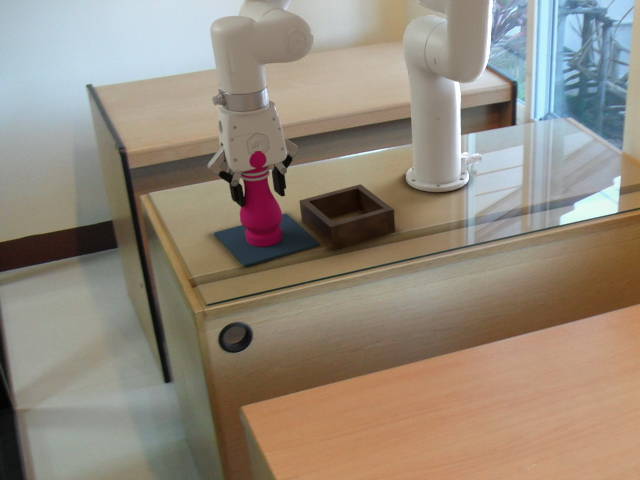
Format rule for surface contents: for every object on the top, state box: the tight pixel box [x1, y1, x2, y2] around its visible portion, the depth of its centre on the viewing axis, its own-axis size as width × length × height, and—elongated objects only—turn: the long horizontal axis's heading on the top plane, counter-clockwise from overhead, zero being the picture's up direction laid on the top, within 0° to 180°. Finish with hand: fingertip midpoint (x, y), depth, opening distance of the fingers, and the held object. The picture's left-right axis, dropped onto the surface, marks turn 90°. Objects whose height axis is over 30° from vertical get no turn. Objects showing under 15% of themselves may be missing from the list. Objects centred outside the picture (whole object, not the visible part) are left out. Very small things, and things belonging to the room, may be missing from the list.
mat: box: [213, 212, 320, 268], centre depth 167 cm, size 14×14×1 cm
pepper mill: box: [239, 151, 283, 247], centre depth 161 cm, size 7×7×20 cm
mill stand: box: [298, 183, 396, 251], centre depth 171 cm, size 13×13×4 cm
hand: (259, 197), depth 163 cm, fingers open, 6 cm apart
